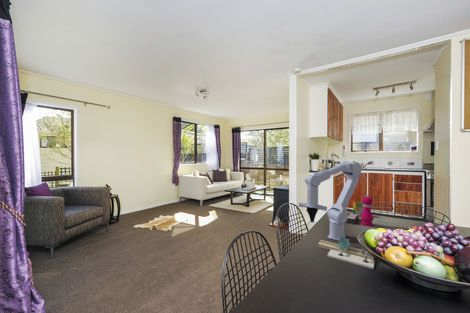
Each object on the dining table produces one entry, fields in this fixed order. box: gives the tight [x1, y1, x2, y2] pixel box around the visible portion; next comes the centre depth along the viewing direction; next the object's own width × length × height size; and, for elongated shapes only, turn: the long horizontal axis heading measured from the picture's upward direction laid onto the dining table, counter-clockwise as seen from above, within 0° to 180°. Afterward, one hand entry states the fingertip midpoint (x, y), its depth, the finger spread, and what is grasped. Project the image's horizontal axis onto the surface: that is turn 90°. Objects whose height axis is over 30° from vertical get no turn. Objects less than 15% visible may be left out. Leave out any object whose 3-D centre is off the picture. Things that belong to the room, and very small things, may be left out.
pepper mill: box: [360, 194, 374, 227], centre depth 142 cm, size 7×7×20 cm
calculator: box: [345, 212, 359, 225], centre depth 152 cm, size 11×4×15 cm
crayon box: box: [352, 200, 364, 217], centre depth 163 cm, size 7×3×12 cm, turn 99°
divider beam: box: [317, 239, 375, 261], centre depth 103 cm, size 11×24×5 cm, turn 54°
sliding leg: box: [338, 237, 351, 255], centre depth 103 cm, size 10×4×4 cm, turn 144°
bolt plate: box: [326, 249, 375, 270], centre depth 97 cm, size 7×18×1 cm, turn 54°
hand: (312, 221), depth 117 cm, fingers closed
